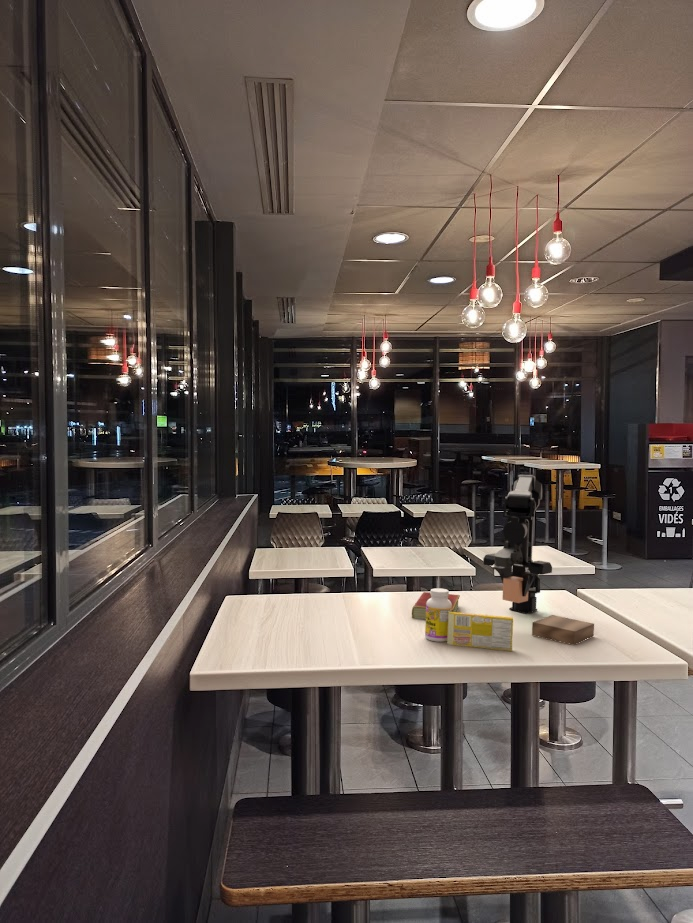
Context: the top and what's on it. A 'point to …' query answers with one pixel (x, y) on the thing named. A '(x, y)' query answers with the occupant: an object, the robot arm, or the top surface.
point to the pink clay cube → (513, 590)
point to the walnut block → (563, 629)
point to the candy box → (480, 631)
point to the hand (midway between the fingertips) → (515, 594)
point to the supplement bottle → (437, 615)
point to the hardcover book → (420, 605)
